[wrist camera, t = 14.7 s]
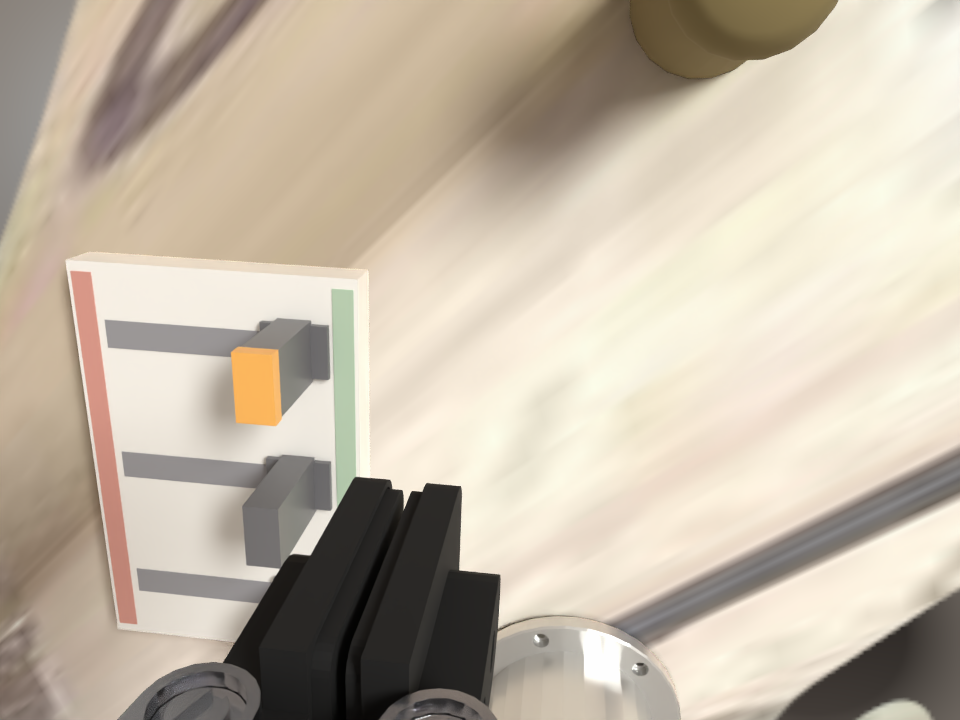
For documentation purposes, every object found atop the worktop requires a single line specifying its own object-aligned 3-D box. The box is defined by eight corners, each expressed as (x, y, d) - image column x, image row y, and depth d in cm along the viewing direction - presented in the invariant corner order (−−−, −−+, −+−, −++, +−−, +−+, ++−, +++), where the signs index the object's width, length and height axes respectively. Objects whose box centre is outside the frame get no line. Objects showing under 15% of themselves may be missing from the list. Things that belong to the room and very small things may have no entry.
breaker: (331, 457, 38) (296, 511, 33) (332, 511, 39) (298, 570, 34) (267, 452, 38) (224, 504, 33) (270, 505, 39) (229, 563, 34)
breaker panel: (368, 269, 37) (357, 279, 35) (371, 632, 44) (362, 657, 42) (90, 251, 38) (64, 259, 36) (136, 606, 45) (117, 629, 43)
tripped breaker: (328, 320, 35) (290, 356, 31) (330, 383, 36) (293, 427, 32) (261, 315, 36) (212, 350, 31) (265, 377, 37) (218, 421, 32)
